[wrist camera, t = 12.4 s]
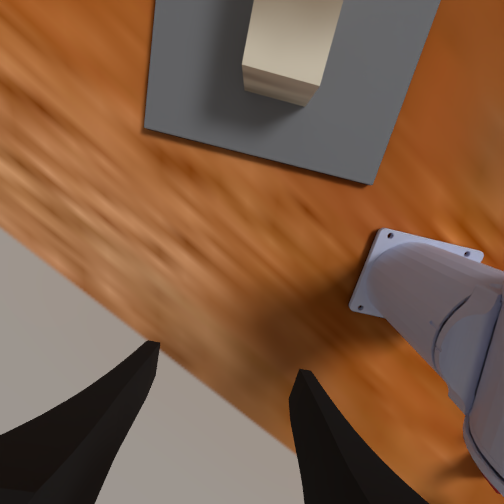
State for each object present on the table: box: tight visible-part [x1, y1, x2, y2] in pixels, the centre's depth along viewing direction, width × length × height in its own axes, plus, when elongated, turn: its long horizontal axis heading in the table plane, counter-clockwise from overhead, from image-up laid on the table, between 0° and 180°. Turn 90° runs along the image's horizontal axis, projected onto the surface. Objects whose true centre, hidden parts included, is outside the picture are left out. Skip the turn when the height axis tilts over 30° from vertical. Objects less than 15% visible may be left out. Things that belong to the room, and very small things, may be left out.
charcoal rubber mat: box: [144, 0, 440, 185], centre depth 16 cm, size 18×16×1 cm
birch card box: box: [242, 0, 343, 107], centre depth 14 cm, size 8×4×4 cm, turn 167°
